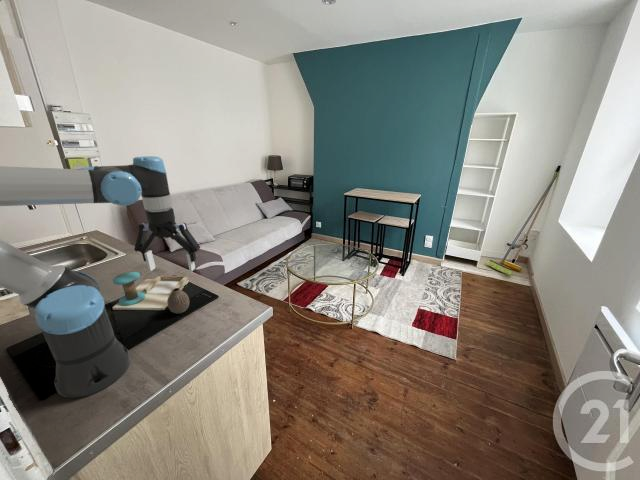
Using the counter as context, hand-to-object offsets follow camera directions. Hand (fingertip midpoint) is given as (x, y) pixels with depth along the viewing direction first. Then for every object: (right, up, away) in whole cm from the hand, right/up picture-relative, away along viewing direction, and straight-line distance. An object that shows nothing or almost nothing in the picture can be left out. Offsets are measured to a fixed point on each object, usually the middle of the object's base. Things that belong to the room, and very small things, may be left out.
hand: (172, 269), depth 89 cm
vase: (0, -16, +6) cm, 17 cm away
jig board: (-16, -12, +15) cm, 24 cm away
